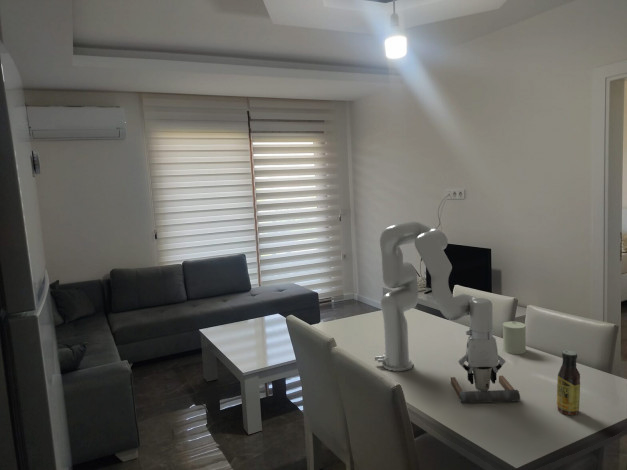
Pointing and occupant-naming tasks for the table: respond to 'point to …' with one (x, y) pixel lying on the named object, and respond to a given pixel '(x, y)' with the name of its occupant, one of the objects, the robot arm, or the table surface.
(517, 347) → the can
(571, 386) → the sauce bottle
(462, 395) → the bay
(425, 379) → the table surface
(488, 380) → the coffee cup
